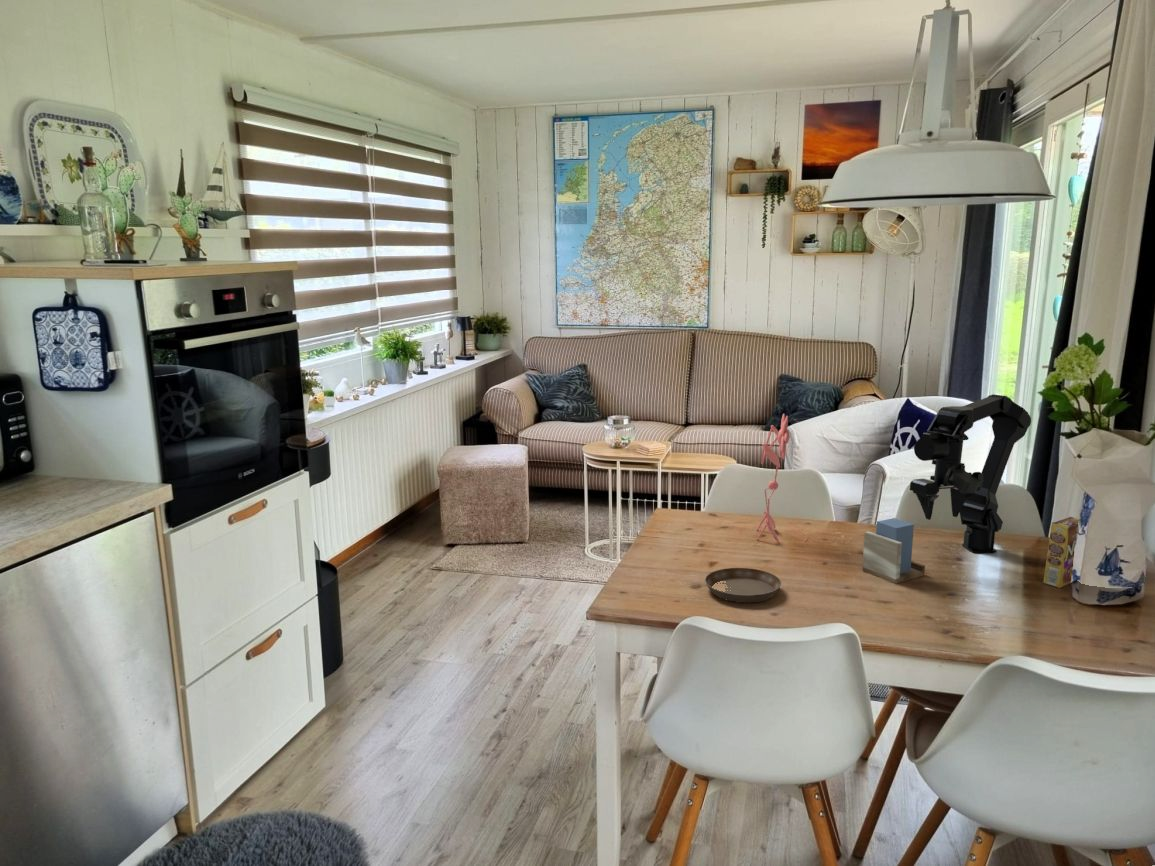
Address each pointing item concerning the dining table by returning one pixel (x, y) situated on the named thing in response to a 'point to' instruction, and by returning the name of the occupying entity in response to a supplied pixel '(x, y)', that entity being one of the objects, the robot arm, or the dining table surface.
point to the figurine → (773, 485)
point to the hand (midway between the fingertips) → (941, 518)
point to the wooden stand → (887, 559)
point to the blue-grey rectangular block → (899, 538)
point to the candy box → (1061, 552)
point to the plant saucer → (744, 584)
